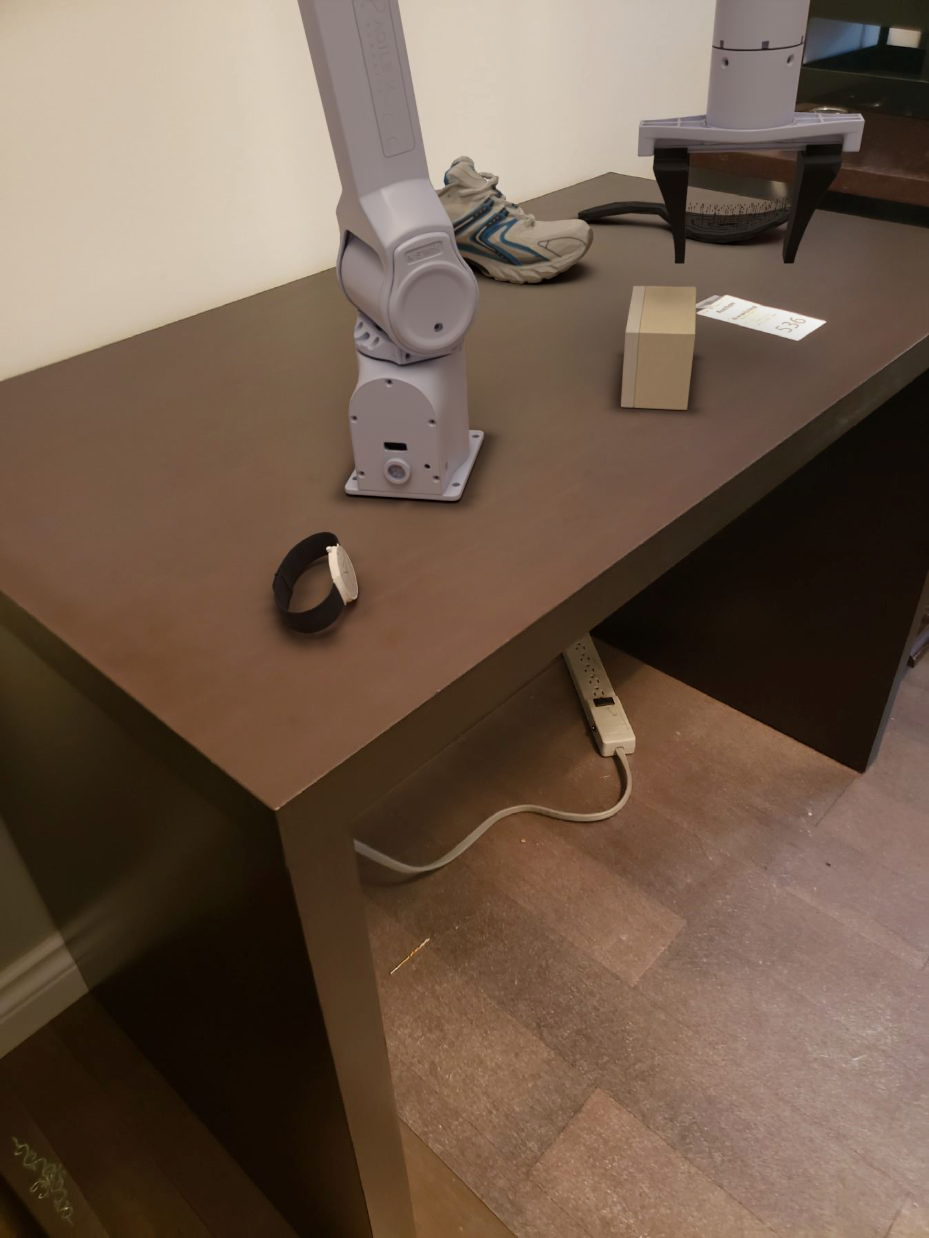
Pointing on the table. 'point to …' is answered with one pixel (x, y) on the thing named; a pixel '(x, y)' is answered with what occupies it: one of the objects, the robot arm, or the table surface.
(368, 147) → the robot arm
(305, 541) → the watch
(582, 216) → the hairbrush
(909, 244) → the table surface
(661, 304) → the tilted tan cardboard box
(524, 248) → the athletic shoe
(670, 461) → the table surface
